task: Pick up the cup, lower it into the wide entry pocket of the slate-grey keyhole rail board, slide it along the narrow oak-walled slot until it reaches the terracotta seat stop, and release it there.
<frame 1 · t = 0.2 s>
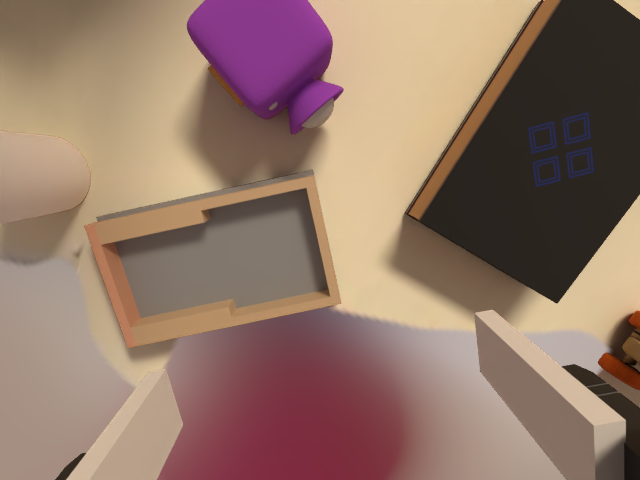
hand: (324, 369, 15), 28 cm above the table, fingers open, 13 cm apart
cup: (53, 174, 41), on the table
book: (526, 155, 42), on the table
rail board: (225, 256, 43), on the table
toy camera: (282, 72, 39), on the table
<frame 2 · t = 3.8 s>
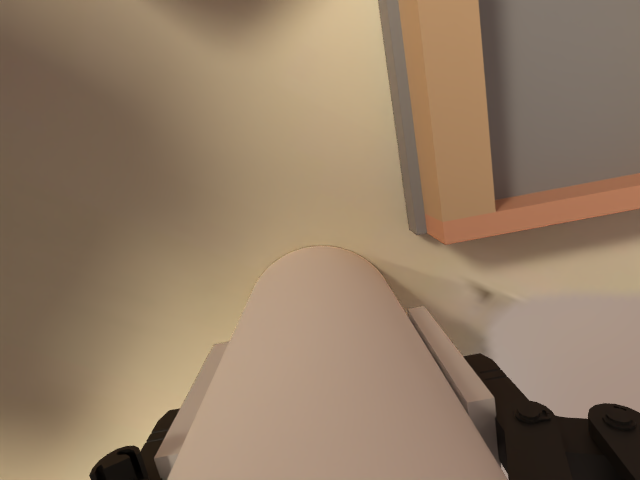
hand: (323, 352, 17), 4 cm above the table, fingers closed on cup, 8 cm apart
cup: (321, 315, 21), on the table, touching gripper
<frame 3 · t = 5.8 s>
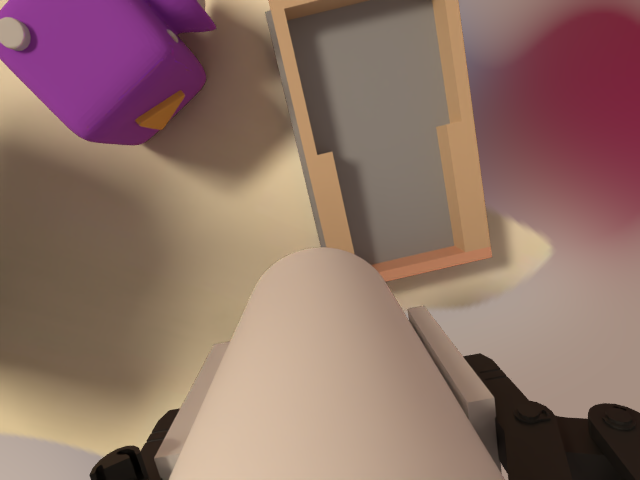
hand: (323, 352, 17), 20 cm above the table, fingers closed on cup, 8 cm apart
cup: (321, 317, 21), point 16 cm above the table, touching gripper
rail board: (379, 140, 34), on the table
toy camera: (153, 61, 32), on the table
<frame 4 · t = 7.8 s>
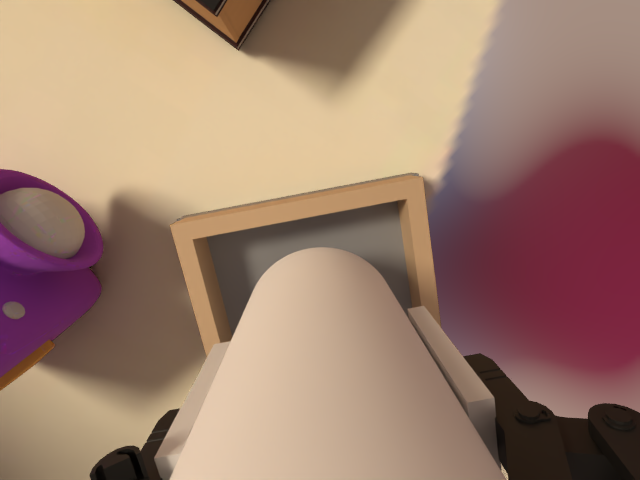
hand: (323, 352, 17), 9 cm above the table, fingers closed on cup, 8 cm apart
cup: (321, 317, 21), point 5 cm above the table, touching gripper
rail board: (330, 358, 27), on the table
toy camera: (35, 259, 25), on the table
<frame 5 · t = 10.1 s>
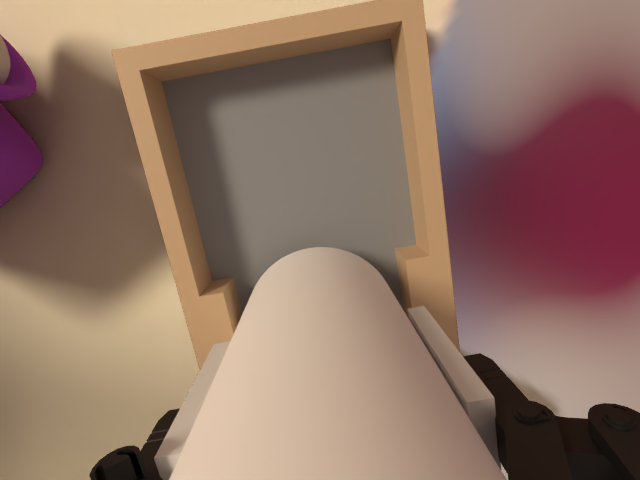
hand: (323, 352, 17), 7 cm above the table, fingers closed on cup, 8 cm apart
cup: (321, 316, 21), point 3 cm above the table, touching gripper
rail board: (313, 256, 23), on the table
when the fingers open (6 cm above the table, at t = 11.9 s): cup stays where it is, resting on rail board.
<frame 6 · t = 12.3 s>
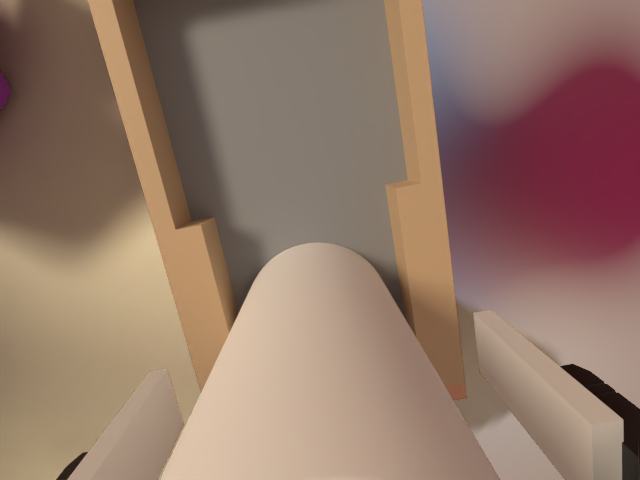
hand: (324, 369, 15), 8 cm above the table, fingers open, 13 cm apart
cup: (318, 309, 22), point 1 cm above the table, touching rail board
rail board: (300, 197, 22), on the table
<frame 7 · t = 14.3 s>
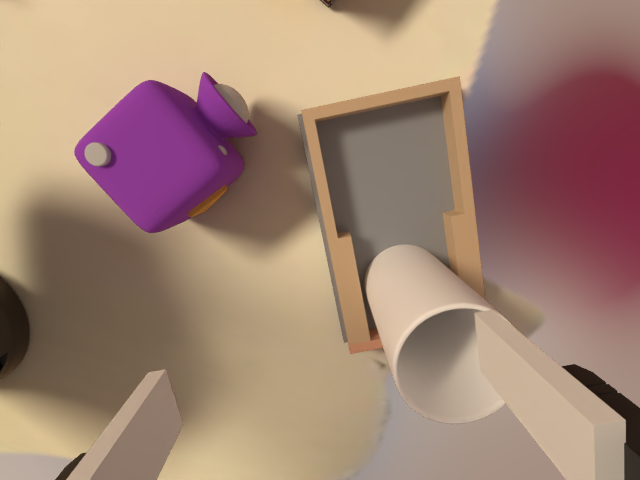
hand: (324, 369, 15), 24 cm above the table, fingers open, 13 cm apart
cup: (403, 282, 39), point 1 cm above the table, touching rail board
rail board: (392, 219, 39), on the table
toy camera: (199, 148, 37), on the table
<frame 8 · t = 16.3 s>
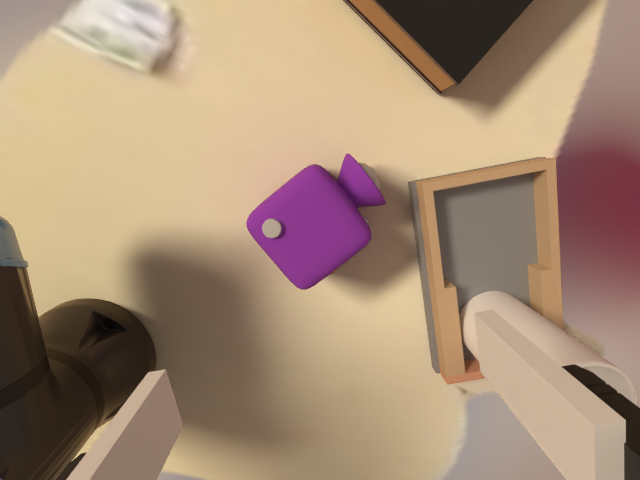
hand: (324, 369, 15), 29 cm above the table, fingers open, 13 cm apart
cup: (489, 321, 45), point 1 cm above the table, touching rail board
rail board: (481, 268, 45), on the table
toy camera: (319, 207, 43), on the table
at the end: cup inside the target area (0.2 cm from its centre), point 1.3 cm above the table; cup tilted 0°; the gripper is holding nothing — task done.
